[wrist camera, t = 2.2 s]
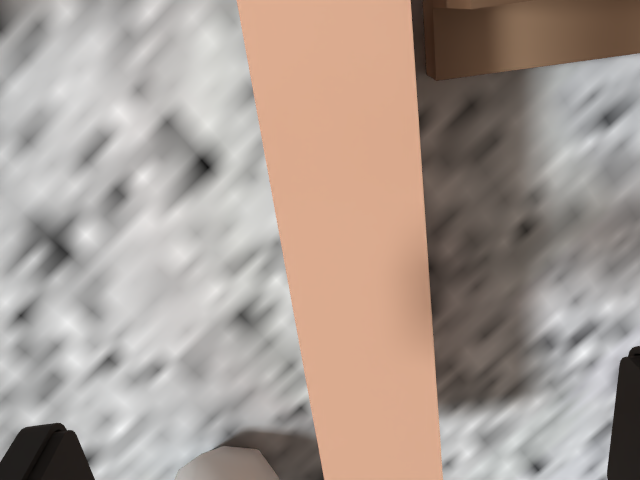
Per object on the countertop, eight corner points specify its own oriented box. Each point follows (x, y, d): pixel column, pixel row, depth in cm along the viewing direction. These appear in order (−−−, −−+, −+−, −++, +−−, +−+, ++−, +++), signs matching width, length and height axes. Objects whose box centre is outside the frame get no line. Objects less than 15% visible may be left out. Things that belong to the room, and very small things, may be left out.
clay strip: (384, -25, 17) (408, -33, 13) (419, 396, 23) (442, 482, 19) (253, -5, 17) (235, -7, 13) (324, 407, 23) (327, 496, 19)
